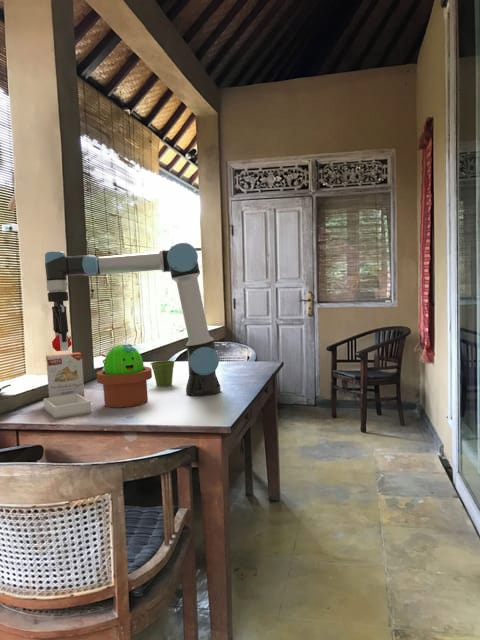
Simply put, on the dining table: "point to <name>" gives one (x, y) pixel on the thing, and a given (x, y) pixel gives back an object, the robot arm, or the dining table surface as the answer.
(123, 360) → the potted cactus
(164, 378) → the plant pot
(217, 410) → the dining table surface
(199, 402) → the dining table surface
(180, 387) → the dining table surface
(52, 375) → the cracker box
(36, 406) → the dining table surface
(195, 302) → the robot arm
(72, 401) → the box
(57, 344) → the apple
